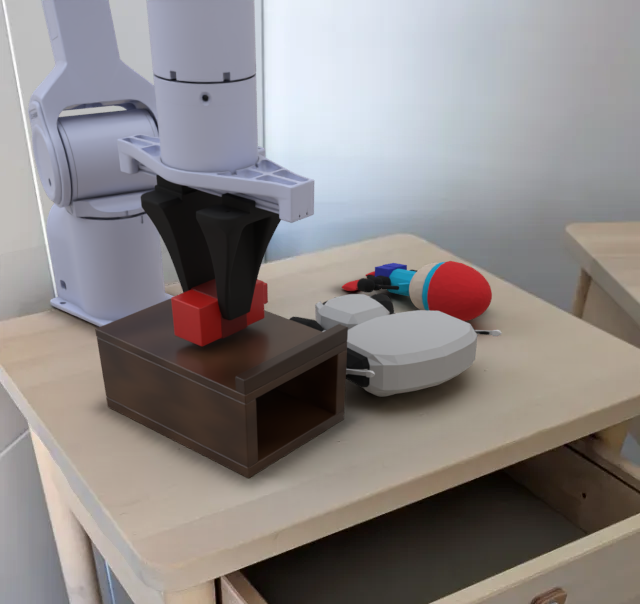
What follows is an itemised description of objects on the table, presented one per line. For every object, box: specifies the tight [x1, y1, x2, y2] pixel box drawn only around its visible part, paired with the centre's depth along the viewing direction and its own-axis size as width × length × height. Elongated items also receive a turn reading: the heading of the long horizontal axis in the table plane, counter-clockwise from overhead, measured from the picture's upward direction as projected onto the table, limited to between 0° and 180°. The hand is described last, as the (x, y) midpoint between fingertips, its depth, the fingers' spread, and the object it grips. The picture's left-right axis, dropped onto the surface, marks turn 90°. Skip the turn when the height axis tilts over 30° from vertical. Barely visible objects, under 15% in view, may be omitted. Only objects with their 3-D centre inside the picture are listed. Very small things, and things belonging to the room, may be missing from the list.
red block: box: [171, 278, 269, 346], centre depth 57 cm, size 3×7×3 cm, turn 141°
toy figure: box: [341, 260, 493, 322], centre depth 75 cm, size 8×5×15 cm
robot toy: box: [288, 293, 503, 397], centre depth 66 cm, size 12×4×15 cm
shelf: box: [94, 298, 348, 479], centre depth 59 cm, size 14×10×7 cm
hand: (218, 308), depth 56 cm, fingers closed on red block, 3 cm apart
